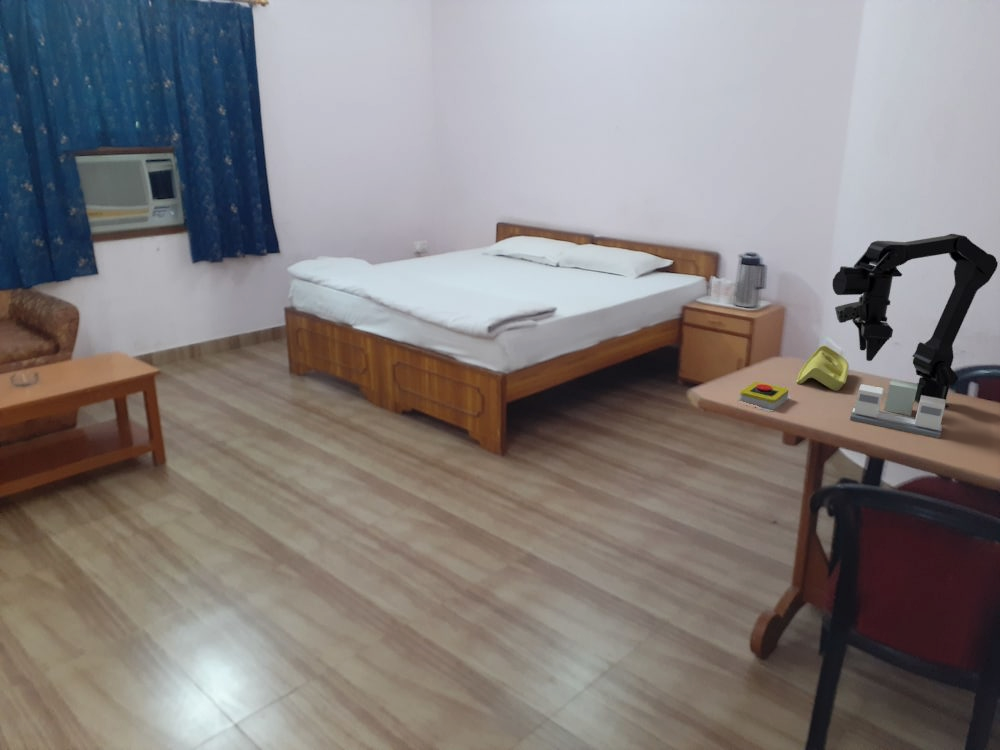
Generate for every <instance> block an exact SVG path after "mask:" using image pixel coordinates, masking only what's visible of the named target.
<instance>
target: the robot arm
mask: <svg viewBox="0 0 1000 750" xmlns="http://www.w3.org/2000/svg"><path fill="white" fill-rule="evenodd" d="M945 254H948V255H949V257H950V258H951V260H953V261H954V263H955V266H954V270H953V277H954V286H953V288H952V291H951V293H950V295H949V297H948V300H947V302H946V305H945V306H944V309H943V312H942V313H941V315H940V317H939V319H938V322H937V324H936V326H935V329H934V330H933V333H932V336H931V337H930V339H928V340H927V341H926V342H924V343H923V342H919V343H918V344H917V346H916V350H915V352H914V353H913V355H911V356H912V357H913V359H912V365H913V367H914V368H915V375H916V376H919V379H918V382H916V384H918V386H917V392H916V396H915V400H914V401H915V402H917V403H919V402H920V398H921V395H923V396H929V397H934V398H940V399H945V408H947V407H949V406H950V404H948V403H947V402H946V401H947V396H948V394H949V390H950V386H955V385H956V383H957V381H958V379H959V377H958V375H957V374H956V372H955V371H954V370H953V369H952V366H953V361H954V349H953V344H954V342H955V340H956V339H957V336H958V333H959V332H960V329H961V327H962V324H963V322H964V320H965V318H966V316H967V314H968V312H969V309H970V307H971V305H972V303H973V300H974V299H975V296H976V294H977V292H978V290H979V289H981V288H983V286H986V284H987V283H989V281H990V280H991V279H992V277H993V275H994V274H995V272H996V271H997V268H998V264H999V263H998V261H997V258H996V256H994V255H993V254H991V253H988V252H986V251H985V250H984V249H982V248H981V247H979V246H978V245H976V244H975V243H974V242H972V241H971V240H970V238H968V237H967V236H965V235H962V234H956V233H950V234H946V235H941V236H935V237H928V238H923V239H917V240H910V241H893V240H875V241H873V242H871V243H870V245H869V246H868V247H867V248H866V251H865V252H864V253H863V254H862V255H861V257H859V259H858V260H857V261H856V263H855V264H853V266H845V265H844V266H842V265H841V266H840V267H839V271H838V272H837V273H836V274H835V275H834V277H833V279H832V290H833V292H834V294H836V295H837V296H849V295H850V296H854V295H855V296H856V295H857V296H858V295H859V296H860V297H859V298H858V301H856V302H855V301H854V302H850V303H845V304H841V305H838V306H835V307H834V310H835V315H836V319H837V321H838V323H847V322H848V321H851V322H852V323H853V324H854V325H855V327H856V328H857V330H858V331H857V332H858V343H859V344H858V345H859V350H860V351H865V355H866V357H865V358H866V359H865V360H866V361H867V362H872V361H873V360H874V358H875V357H876V355H877V354H878V353H879V352H880V350H881V349H882V348H883V346H884V345H885V344H886V343H887V342H888V341H889V340H890V338H891V339H892V337H893V331H894V329H893V328H892V327H891V326H890V324H888V317H887V311H888V306H890V305H891V300H890V296H891V295H890V294H891V289H892V283H893V278H894V277H895V278H897V277H902V276H903V274H902V272H900V270H899V269H898V268H897V267H899V266H902V265H904V264H905V263H907V262H909V261H911V260H916V259H920V258H929V257H933V256H940V255H945Z"/></svg>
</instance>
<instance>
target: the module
mask: <svg viewBox="0 0 1000 750" xmlns="http://www.w3.org/2000/svg"><path fill="white" fill-rule="evenodd" d="M888 386H889V387H888V389H887V390H888V391H887V396H886V400H885V404H884V408H883V412H888V413H893V414H898V415H903V416H908V417H911V416H912V413H913V408H914V404H915V401H916V400H915V396H916V392H917V386H918V384H917V382H916V383H915V382H910V381H903V380H899V379H898V380H897V379H893V378H891V379H890V382H889V385H888Z"/></svg>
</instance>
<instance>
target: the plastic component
mask: <svg viewBox="0 0 1000 750" xmlns="http://www.w3.org/2000/svg"><path fill="white" fill-rule="evenodd" d="M849 365H850V364H849V362H848V361H847V359H845V358H844V357H843V356H842V355H841V354H839V353H838V352H836V351H835V350H833V349H832V348H830V347H829V346H827V345H820V346H819V347H818V349H816V350H815V352H814V353H812V355H811V356H810V358H809V359H808V360H807V361H806V362H805V364H804V365H803V366H802V368H800V369H801V370H800V371H799V372H798V375H797V377H796V381H795V382H796V383H797V384H800V385H801V384H803V383H805V382H806V381H807V380H808V379H814V380H816V381H818V382H819V383H820V384H822V385H824V386H826V387H827V388H829V389H830V390H832V391H835V392H836V391H839V390H840V389H841V388H842V387H843V385H845V384H846V382H847V378H848V373H849V367H850V366H849Z"/></svg>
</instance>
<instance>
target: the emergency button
mask: <svg viewBox="0 0 1000 750" xmlns="http://www.w3.org/2000/svg"><path fill="white" fill-rule="evenodd" d="M790 398H791V396H790V395H789V389H788V388H786V387H782V386H777V385H773V384H769V383H766V382H765V383H764V382H762V381H761V382H760V381H754V382H752V383H751V384H749V385H748V386H747V387H745V388H743V389H741V390H740V393H739V398H738V400H739V401H743V402H746V403H749V404H753V405H757V406H759V407H761V409H762V410H761V411H764V410H765V412H768V411H769V412H768V413H770V412H775V411H776V410H777V409H778V408H779V407H780V406H782V405H783V404H784V403H786V402H787V401H788V400H790Z"/></svg>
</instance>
